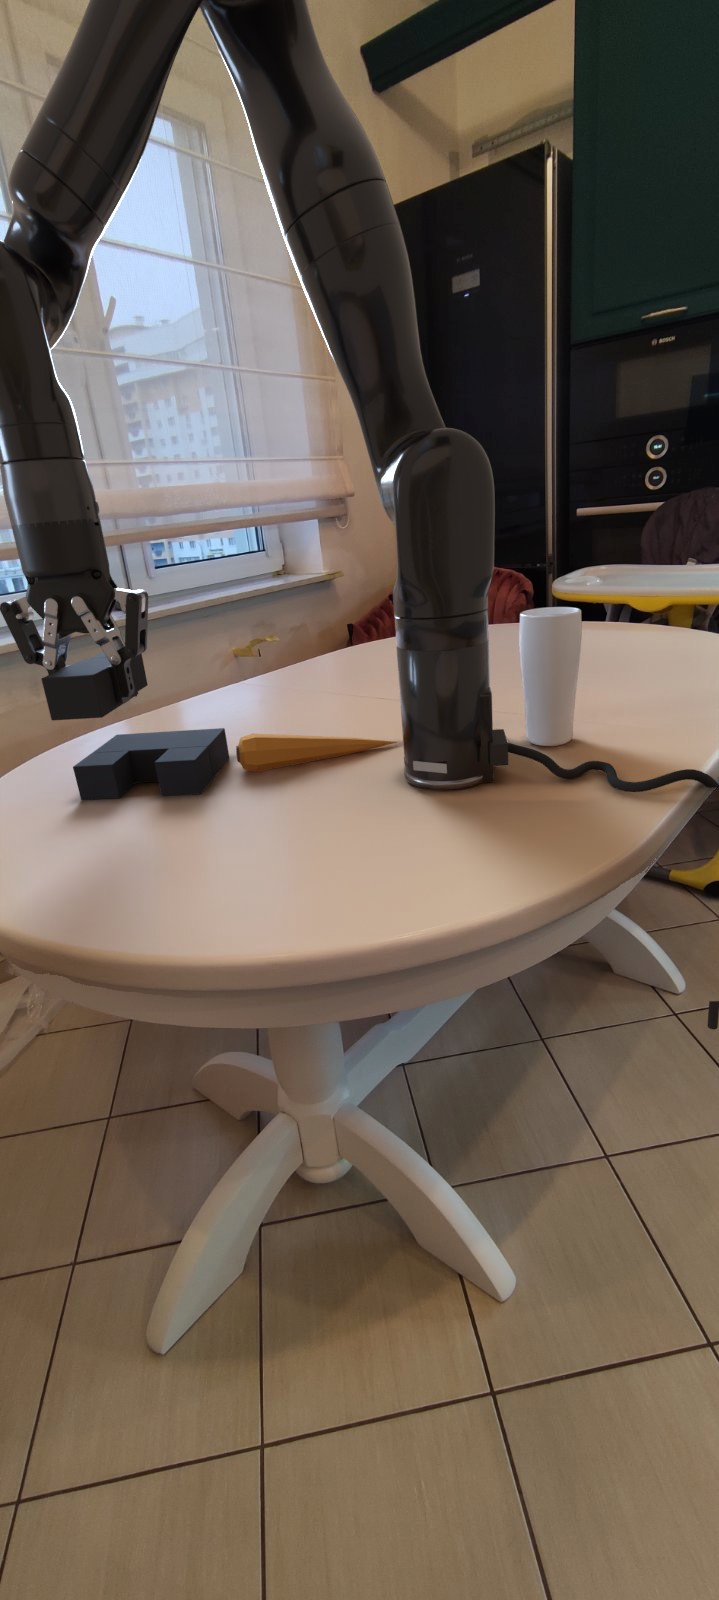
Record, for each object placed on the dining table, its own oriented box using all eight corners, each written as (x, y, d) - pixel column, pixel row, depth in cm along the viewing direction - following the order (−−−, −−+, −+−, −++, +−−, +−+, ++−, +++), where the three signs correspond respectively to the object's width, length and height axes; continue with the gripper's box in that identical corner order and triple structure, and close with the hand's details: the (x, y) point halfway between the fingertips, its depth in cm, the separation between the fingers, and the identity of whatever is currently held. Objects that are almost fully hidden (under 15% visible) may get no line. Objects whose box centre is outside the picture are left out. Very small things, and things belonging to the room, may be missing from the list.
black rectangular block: (152, 685, 79) (145, 648, 77) (102, 717, 67) (92, 674, 65) (108, 687, 79) (100, 651, 78) (51, 720, 67) (40, 678, 66)
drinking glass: (581, 749, 82) (584, 613, 76) (519, 750, 83) (518, 617, 78) (576, 731, 88) (579, 605, 82) (519, 732, 89) (519, 608, 84)
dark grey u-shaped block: (229, 758, 90) (224, 727, 89) (201, 794, 79) (194, 759, 78) (123, 764, 92) (116, 734, 91) (80, 800, 81) (72, 766, 80)
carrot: (239, 781, 84) (240, 750, 81) (234, 756, 87) (234, 726, 84) (402, 767, 90) (407, 738, 87) (391, 745, 93) (396, 716, 90)
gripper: (-45, 526, 62) (8, 718, 68) (114, 511, 60) (153, 709, 67) (3, 524, 69) (47, 698, 75) (147, 510, 67) (179, 690, 74)
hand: (96, 702), depth 71 cm, fingers closed on black rectangular block, 5 cm apart
